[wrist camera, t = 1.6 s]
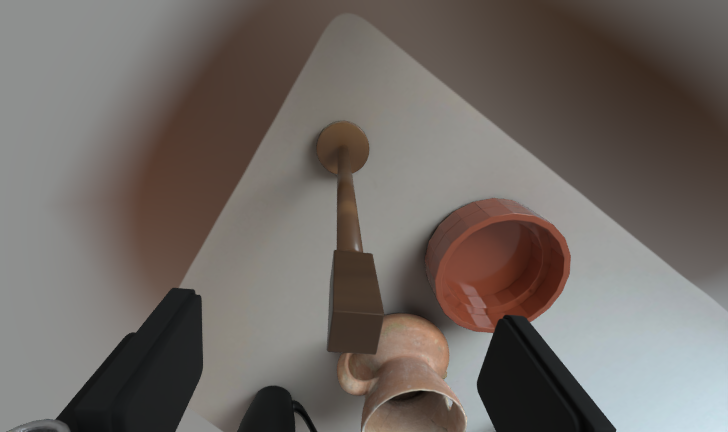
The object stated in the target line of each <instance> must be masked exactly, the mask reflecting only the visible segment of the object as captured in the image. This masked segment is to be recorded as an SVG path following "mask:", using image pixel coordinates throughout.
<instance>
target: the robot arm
mask: <svg viewBox="0 0 728 432" xmlns="http://www.w3.org/2000/svg"><path fill="white" fill-rule="evenodd" d="M202 369H203V344H202V301H201V296H200V295H196V294H195V290H193V289H182V288H172V289H171V290H170V291H169V292H168V294H167V295H166V296H165V297H164V299H163V300H162V301H161V302H160V304H159V305H158V306H157V307H156V308H155V310H154V311H153V312H152V313H151V315H150V316H149V317H148V318H147V320H146V321H145V322H144V323H143V325H142V326H141V327H140V328H139V330H138V331H137V332H136V333H129V334H128V335H126V336H125V338H123V340H122V341H121V342H120V343H119V344H118V346H117V347H116V348H115V349H114V350H113V351H112V353H111V354H110V355H109V356H108V357H107V359H106V360H105V361H104V362H103V363H102V365H101V366H100V367H99V368H98V369H97V371H96V372H95V373H94V374H93V375H92V376H91V378H90V379H89V380H88V381H87V382H86V384H85V385H84V386H83V387H82V389H81V390H80V391H79V392H78V393H77V394H76V395H75V397H74V398H73V399H72V400H71V401H70V403H69V404H68V405H67V406H66V407H65V409H64V410H63V411H62V412H61V413H60V415H59V416H58V417H57V418H56V419H55V420H52V419H44V420H37V421H32V422H29V423H26V424H23V425H20V426H17V427H15V428H13V429H11V430H9V431H7V432H175V431H176V429H177V427H178V425H179V422H180V421H181V418H182V416H183V414H184V412H185V410H186V408H187V405H188V403H189V401H190V399H191V397H192V395H193V393H194V390H195V388H196V386H197V384H198V382H199V380H200V377H201V374H202ZM477 390H478V393H479V395H480V397H481V400H482V402H483V404H484V406H485V408H486V410H487V413H488V415H489V417H490V419H491V421H492V424H493V426H494V428H495V430H496V432H616V429H615V427H614V426H613V425H612V424H611V422H610V421H609V420H608V419H607V417H606V416H605V415H604V414H603V412H602V411H601V410H600V409H599V407H598V406H597V405H596V404H595V403H594V401H593V400H592V399H591V398H590V396H589V395H588V394H587V393H586V391H585V390H584V389H583V388H582V386H581V385H580V384H579V383H578V382H577V380H576V379H575V378H574V377H573V375H572V374H571V373H570V372H569V370H568V369H567V368H566V367H565V365H564V364H563V363H562V362H561V361H560V359H559V358H558V357H557V356H556V354H555V353H554V352H553V351H552V349H551V348H550V347H549V346H548V344H547V343H546V342H545V341H544V339H543V338H542V337H541V336H540V335H539V333H538V332H537V331H536V330H535V328H534V327H533V326H532V325H531V323H530V322H529V321H528V320H527V318H525V317H524V316H519V315H504V316H503V318H502V319H499V320H498V322H497V324H496V327H495V330H494V333H493V336H492V339H491V342H490V345H489V348H488V351H487V354H486V356H485V359H484V362H483V365H482V368H481V371H480V374H479V377H478V380H477Z"/></svg>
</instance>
